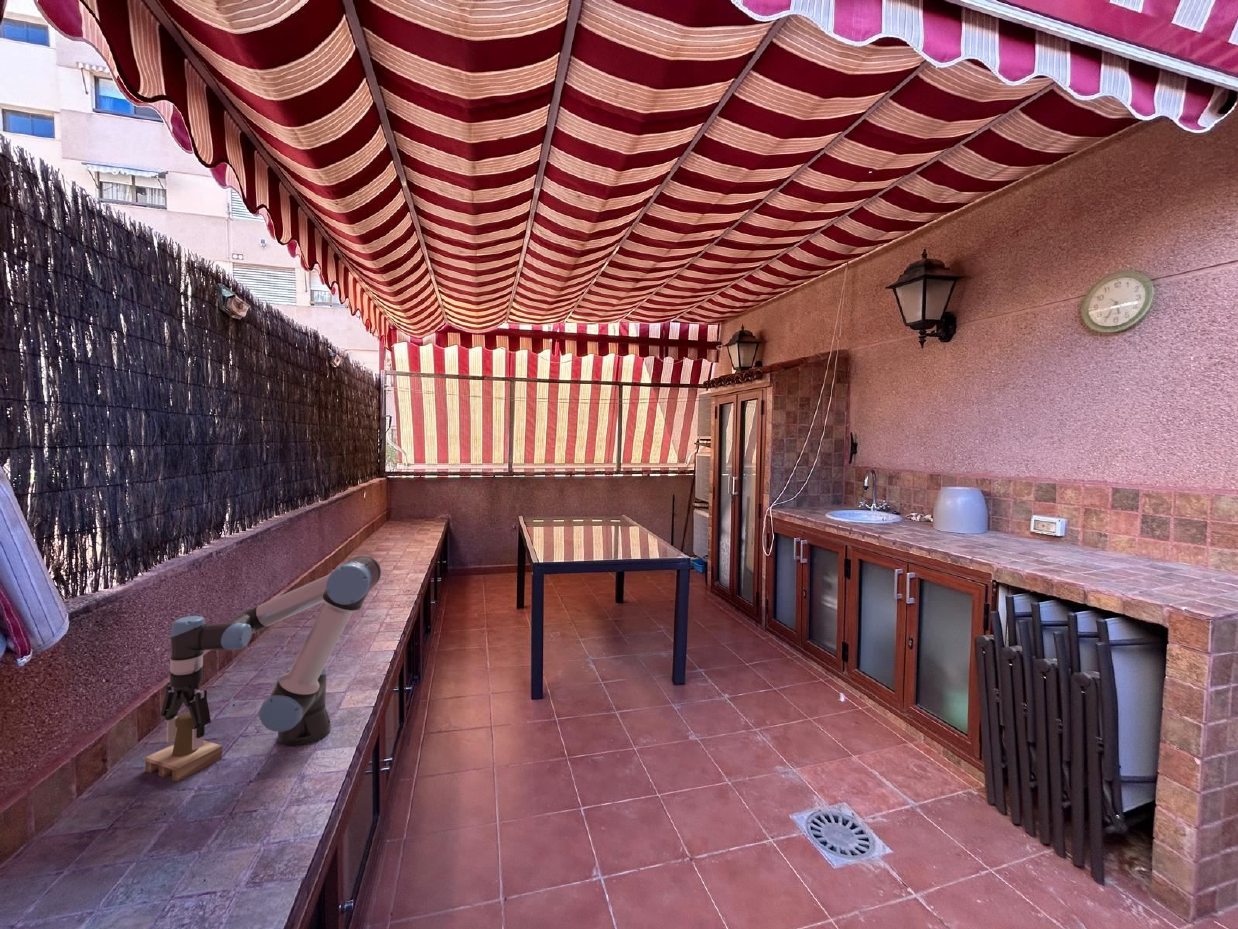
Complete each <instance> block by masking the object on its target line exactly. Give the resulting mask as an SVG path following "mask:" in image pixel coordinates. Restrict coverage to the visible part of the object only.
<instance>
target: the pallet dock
mask: <svg viewBox="0 0 1238 929" xmlns="http://www.w3.org/2000/svg"><path fill="white" fill-rule="evenodd" d="M173 747H174V743H173V744H172V745H169V746H167V747H164V748H162V749H161V750H158V751H155V752H154V753H152V754H150V755H147V756H145V758H144V761H145V768H144V769H145V770H144V772H147V773H150V774H152V773H155V772H156V771H158V776H160V777H162V778H165V777H167V776H169V775H171V781H175V782H179V781H182V780H184V779H185V778H187V777H189V776H191V775H193V774H195V773H196V772H199V771H200V770H203V769H204V768H206V767H208V766H211V765H212V764H214V763H215V762H218V761H220V760H221V759H223V758H222V754H223V745H221V744H217V743H216V742H215V743H214V742H210V741H207V740H204V745H203V746H201V747H199V748H198V750H197V751H195V752H194V753H192V754H189V755H186V756H182V757H174V756H173V755H172V752H173Z"/></svg>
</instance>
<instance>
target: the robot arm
mask: <svg viewBox="0 0 1238 929" xmlns="http://www.w3.org/2000/svg"><path fill="white" fill-rule="evenodd" d="M381 574H382V569H381V565H380V564H379V562H378V561H377V560H376V559H375V558H373V557H372V556H368V555H358V556H356V557H355V556H354V557H352V558H351V559H349V560H348V561H346V562H344V563H342V564H341V565H338V566H337V567H336V568H334V569H333V571H331V573H329V574H327V575H325V576H323V577H320V578H317V579H315V580H313V581H311V582H308V583H306V584H305V585H302V586H300V587H298V588H295V589H293V590H290V591H288V592H286V593H284V594H282V595H280V596H277V597H274V598H272V599H269V600H268V601H266V602H263V603H261V604H259V605H257V606H254V607H250V608H248V609H246V610H243V611H242V612H240V614H239V613H238V615H236V616H234V617H232V618H231V619H229V620H227V621H226V622H224V623H206V621H205V618H204V617H203V616H201V615H190V616H184V617H180V618H178V619H176V620H174V622H172V624H171V625H172V626H171V632H170V641H171V642H170V659H169V660H170V661H169V664H170V666H169V672H170V675H169V685H166V686H165V695H164V700H163V705H162V708H161V711H160V717H164V719H165V720H166V738H165V739H166V743H171V742H172V741H175V737H176V732H177V727H176V726H175V720H176V719H177V717H178V716H180V713H179V711H180V709H181V707H182V704H183V703H184V706H185V707H186V708H188V712H190V714H191V717H192V720H193V723H194V725H195V727H193V728H192V750H195V749H197V748H199V747H201V746H203V745H204V741H205V730H206V728H205V727H206V726H207V725H209V724H210V723H212V720H211V714H210V709H209V704H208V697H207V696H208V690H207V689H204V690H201V689H200V687H199V684H200V683H201V682H202V680H203V679H204V668H203V666H204V651H234V650H241V649H244V648H246V647H247V646H248V644H249V642H250V641H251V639H252V635H253V634H255V633H257V632H259V631H260V630H264V629H265V628H267V627H269V626H271V625H274V624H276V623H278V622H281V621H282V620H285V619H287V618H289V617H292V616H294V615H297V614H299V613H302V612H303V611H305V610H307V609H310V608H312V607H314V606H317V605H319V604H321V603H323V605H322V607H321V609H320V611H319V613H318V615H317V617H316V619H315V621H314V623H313V625H312V627H311V628H310V631H309V633H308V634H307V636H306V639H305V640H304V641H303V644H302V646H301V647H300V649H299V651H298V653H297V655H296V658H295V660H294V661H293V663H292V665H291V667H289V668H287V670H286V671H285V673H283V674H282V675H280V677H279V679H278V681H277V682H276V684H275V686H274V688H273V690H272V692H271V694H270V695H269V697H268V698H266V699H265V700H264V701H263V702H262V704H261V706H260V708H259V713H258V718H259V721H260V722H261V724H262V725H263V727H265V728H266V729H268V730H269V731H271V732H276V733H277V742H278V744H280V745H281V746H285V747H291V748H292V747H302V746H306V745H310V744H313V743H316V742H318V741H320V740H322V739H324V738H325V737H326V736H327V735H329V734H330V732H331V730H330V729H332V727H331V726H332V724H331V719H330V716H329V714H328V710H327V708H326V697H327V694H326V693H327V690H326V689H327V675H328V673H327V666H326V665H327V663H328V660H329V659H330V657H331V655H332V653H333V651H334V649H335V648H336V645H337V643H338V641H339V639H340V638H341V636H342V633H343V632H344V630H345V628H346V626H347V624H348V622H349V620H350V619H351V616H352V614H353V613H355V612H358V611H359V610H360V609H361V608H362V606H363V604H364V602H365V600H366V598H367V597H368V594H369V593H370V591H371V590H372V589H373V588H374V587H375V586H376V585H377V584H378V582H379V581H380V579H381ZM319 739H320V740H319Z"/></svg>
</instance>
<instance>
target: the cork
mask: <svg viewBox="0 0 1238 929" xmlns="http://www.w3.org/2000/svg"><path fill="white" fill-rule="evenodd" d="M176 717H177V719H176V720H175V726H176V727H177V732H176V737H175V740H174V743H173V744H174V747H173V752H172V755H173V756H174V757H182V756H186V755H189V754H192V753H194V752H195V751H197V750H198V748H197V749H195V750H192V728H193V727H195V725H194V723H193V720H192V717H191V714H190V711H188V712H183V713H181V714H179V715H177V716H176Z"/></svg>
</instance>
